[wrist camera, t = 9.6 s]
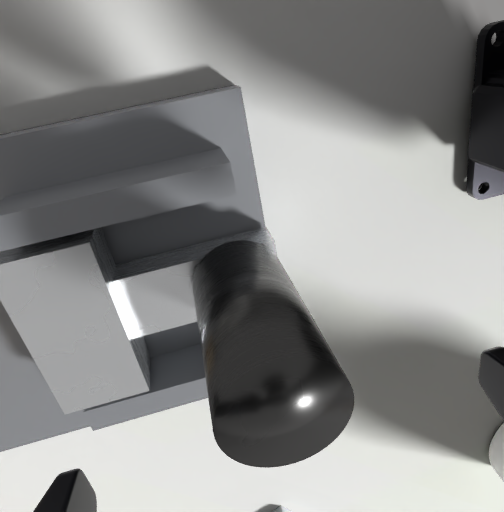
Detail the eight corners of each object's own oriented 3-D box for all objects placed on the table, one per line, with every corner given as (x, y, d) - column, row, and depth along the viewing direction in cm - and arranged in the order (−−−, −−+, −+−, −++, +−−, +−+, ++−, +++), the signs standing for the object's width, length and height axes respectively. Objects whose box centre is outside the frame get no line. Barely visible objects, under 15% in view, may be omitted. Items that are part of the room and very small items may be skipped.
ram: (260, 179, 14) (344, 284, 8) (284, 317, 17) (360, 478, 11) (5, 239, 13) (-134, 414, 7) (74, 375, 16) (21, 586, 10)
